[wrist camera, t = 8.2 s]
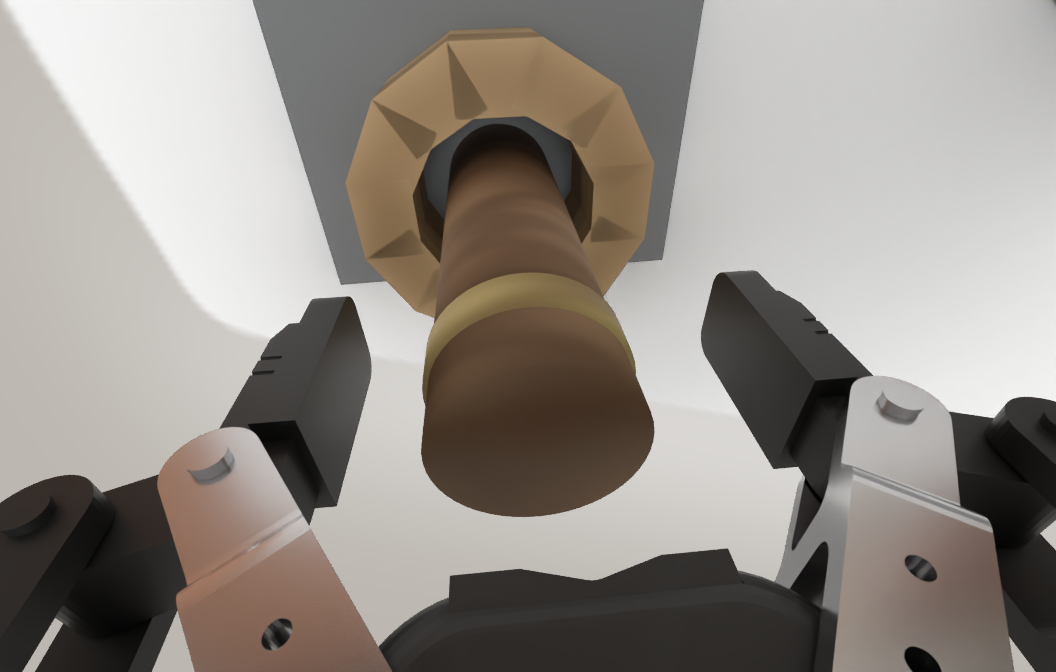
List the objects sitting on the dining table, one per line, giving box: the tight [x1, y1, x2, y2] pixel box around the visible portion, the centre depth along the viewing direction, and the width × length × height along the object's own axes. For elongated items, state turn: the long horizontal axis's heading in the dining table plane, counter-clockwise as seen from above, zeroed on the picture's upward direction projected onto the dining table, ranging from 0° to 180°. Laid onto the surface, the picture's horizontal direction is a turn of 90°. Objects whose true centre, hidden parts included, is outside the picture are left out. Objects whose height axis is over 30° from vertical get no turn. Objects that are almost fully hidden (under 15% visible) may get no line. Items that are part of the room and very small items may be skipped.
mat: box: [253, 0, 704, 285], centre depth 17 cm, size 15×16×1 cm
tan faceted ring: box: [345, 27, 654, 318], centre depth 18 cm, size 10×10×4 cm
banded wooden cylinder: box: [421, 124, 654, 517], centre depth 14 cm, size 4×4×14 cm
